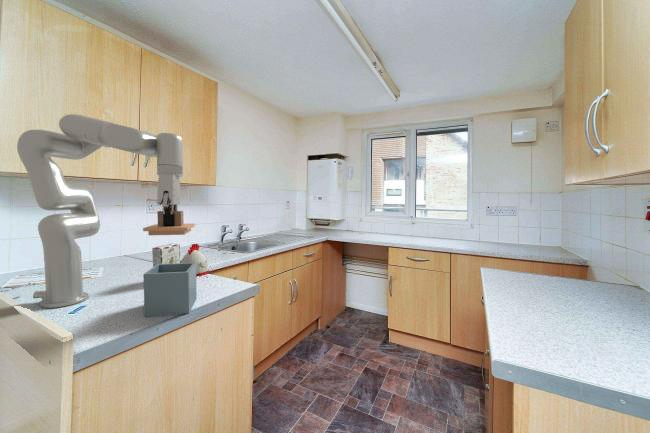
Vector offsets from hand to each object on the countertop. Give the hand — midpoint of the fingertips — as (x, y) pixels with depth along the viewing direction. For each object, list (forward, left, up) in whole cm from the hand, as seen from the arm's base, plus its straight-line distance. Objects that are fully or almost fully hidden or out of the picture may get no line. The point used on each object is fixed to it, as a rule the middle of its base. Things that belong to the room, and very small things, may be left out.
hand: (170, 224), depth 92 cm
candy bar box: (-10, +31, -29) cm, 44 cm away
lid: (0, 0, -3) cm, 3 cm away
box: (0, 0, -29) cm, 29 cm away
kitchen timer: (-1, +42, -29) cm, 52 cm away
